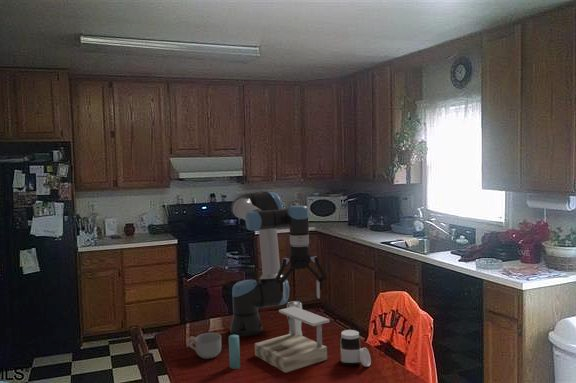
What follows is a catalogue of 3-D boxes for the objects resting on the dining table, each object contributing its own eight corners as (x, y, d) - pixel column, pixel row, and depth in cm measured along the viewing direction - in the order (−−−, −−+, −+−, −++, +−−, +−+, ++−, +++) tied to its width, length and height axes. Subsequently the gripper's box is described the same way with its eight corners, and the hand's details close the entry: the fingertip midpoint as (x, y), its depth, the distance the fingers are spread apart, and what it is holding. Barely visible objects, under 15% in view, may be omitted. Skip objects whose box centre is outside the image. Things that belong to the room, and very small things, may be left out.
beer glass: (301, 338, 220) (300, 305, 219) (286, 338, 221) (285, 305, 221) (304, 333, 227) (303, 301, 226) (289, 332, 228) (288, 300, 227)
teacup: (226, 352, 207) (225, 333, 207) (214, 362, 197) (213, 342, 197) (197, 349, 212) (196, 331, 211) (183, 359, 202) (182, 339, 201)
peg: (228, 366, 192) (226, 336, 192) (237, 364, 195) (235, 333, 194) (232, 369, 189) (231, 339, 188) (242, 367, 191) (240, 336, 191)
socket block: (255, 355, 203) (254, 343, 203) (295, 343, 214) (294, 332, 214) (285, 372, 185) (284, 359, 184) (327, 359, 196) (326, 346, 196)
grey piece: (279, 335, 211) (278, 309, 210) (295, 331, 215) (294, 306, 215) (314, 351, 191) (313, 323, 190) (330, 346, 195) (329, 319, 195)
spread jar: (340, 357, 197) (339, 328, 197) (368, 356, 197) (367, 328, 196) (342, 370, 185) (341, 339, 185) (372, 369, 185) (371, 338, 184)
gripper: (268, 248, 190) (270, 303, 191) (332, 245, 192) (334, 299, 194) (267, 245, 197) (269, 297, 198) (329, 241, 200) (330, 293, 201)
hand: (301, 298), depth 196 cm, fingers open, 13 cm apart
